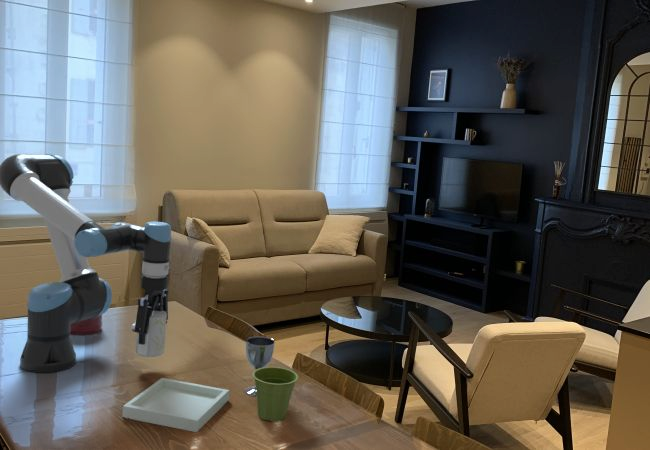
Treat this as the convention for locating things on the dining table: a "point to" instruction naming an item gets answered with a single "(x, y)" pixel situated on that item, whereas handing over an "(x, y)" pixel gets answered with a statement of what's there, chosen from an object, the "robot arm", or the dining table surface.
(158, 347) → the white round cylinder
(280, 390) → the plant pot
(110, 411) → the dining table surface
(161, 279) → the robot arm
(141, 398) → the tray
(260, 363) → the wine glass
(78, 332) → the canister
